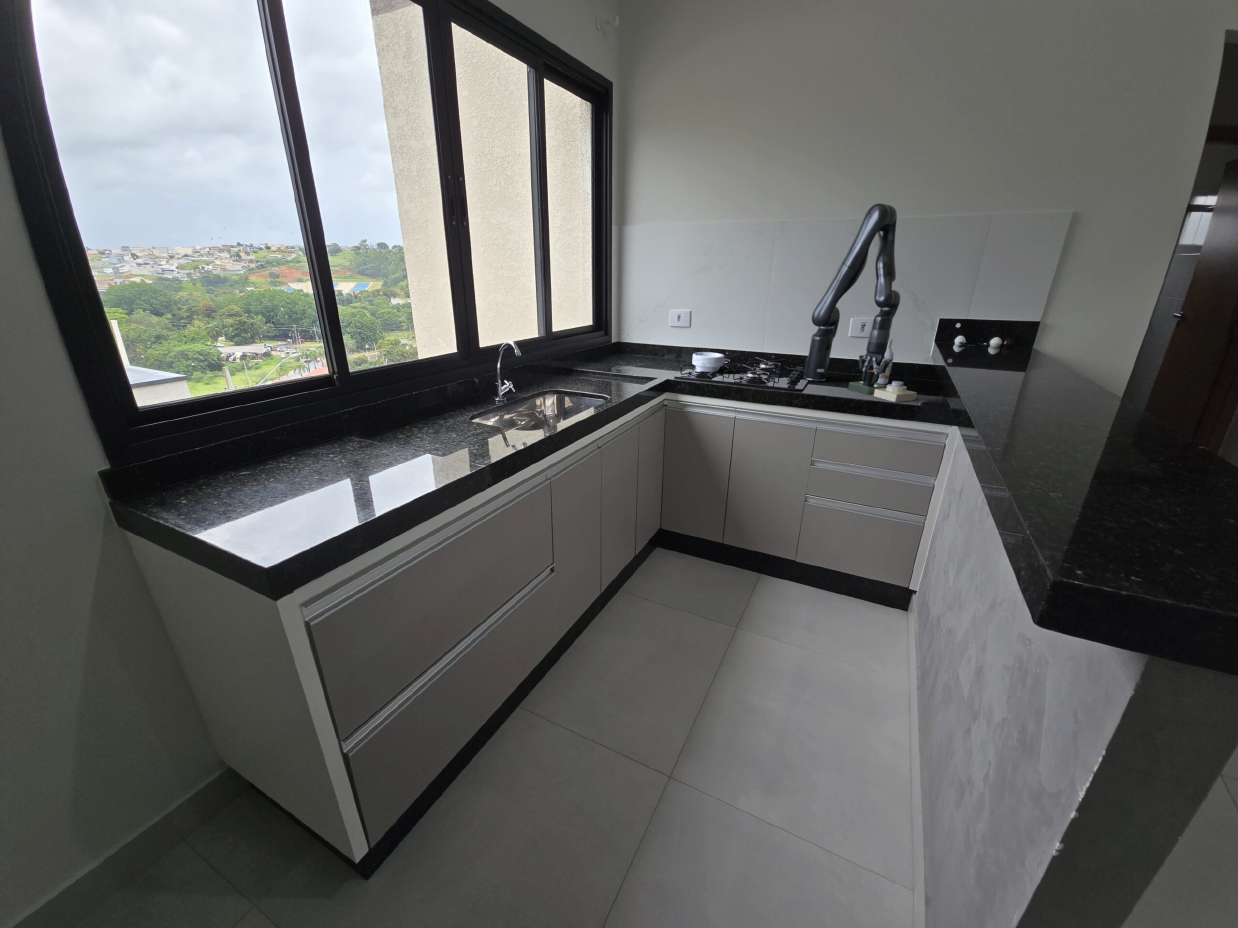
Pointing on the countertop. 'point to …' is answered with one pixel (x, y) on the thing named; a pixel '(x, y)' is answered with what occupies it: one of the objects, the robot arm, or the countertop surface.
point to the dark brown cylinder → (869, 377)
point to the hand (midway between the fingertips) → (869, 381)
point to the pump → (897, 384)
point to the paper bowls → (708, 361)
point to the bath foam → (889, 356)
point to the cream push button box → (895, 393)
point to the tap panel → (865, 387)
